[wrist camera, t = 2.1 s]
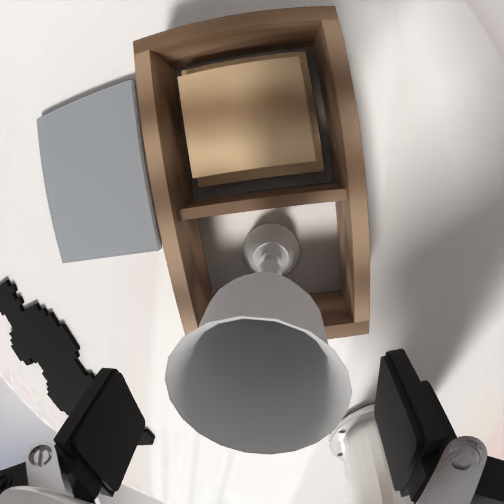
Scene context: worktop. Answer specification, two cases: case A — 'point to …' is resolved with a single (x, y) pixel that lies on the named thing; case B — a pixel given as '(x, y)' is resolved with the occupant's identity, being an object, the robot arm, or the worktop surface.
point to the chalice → (260, 358)
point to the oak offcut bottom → (279, 169)
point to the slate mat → (98, 176)
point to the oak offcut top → (246, 116)
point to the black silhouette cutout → (49, 351)
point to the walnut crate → (189, 210)
